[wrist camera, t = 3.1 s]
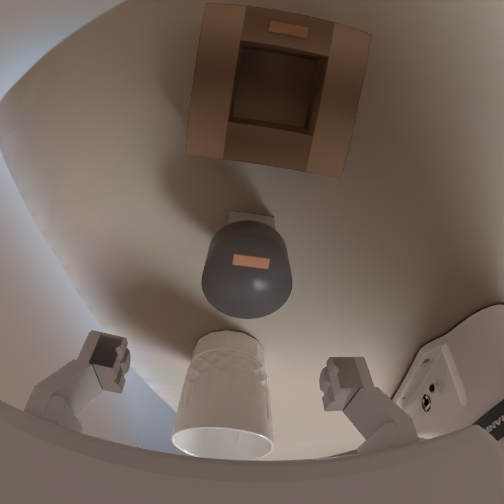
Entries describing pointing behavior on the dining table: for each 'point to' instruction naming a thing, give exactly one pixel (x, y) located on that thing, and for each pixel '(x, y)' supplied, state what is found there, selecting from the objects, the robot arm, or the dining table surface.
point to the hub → (275, 89)
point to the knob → (247, 267)
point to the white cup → (225, 400)
